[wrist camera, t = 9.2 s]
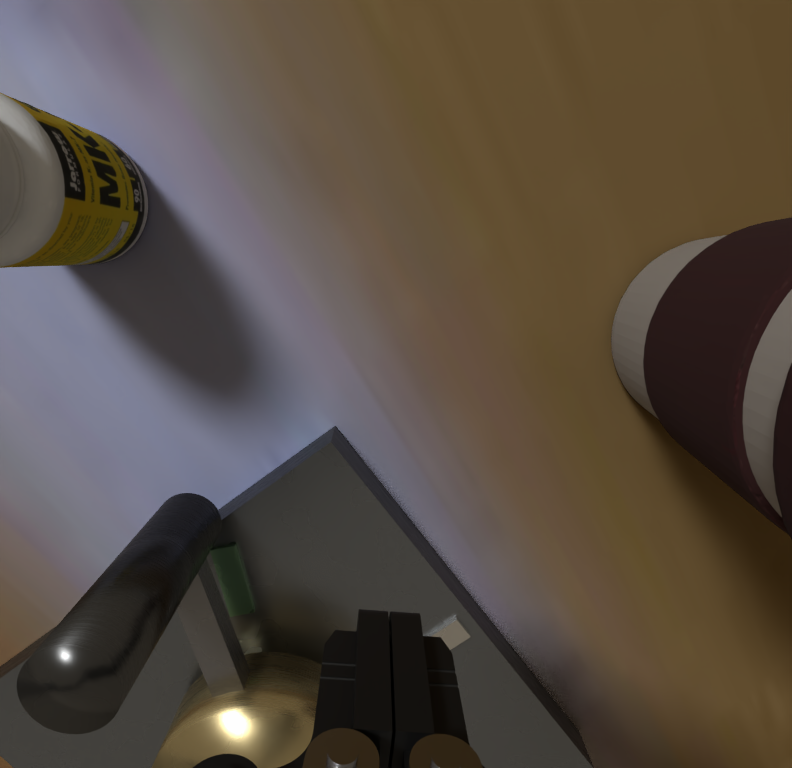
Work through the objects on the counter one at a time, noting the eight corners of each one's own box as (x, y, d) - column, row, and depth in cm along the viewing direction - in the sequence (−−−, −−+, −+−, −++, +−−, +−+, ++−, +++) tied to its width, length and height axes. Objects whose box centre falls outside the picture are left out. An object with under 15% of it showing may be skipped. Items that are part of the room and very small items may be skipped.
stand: (257, 930, 30) (235, 1045, 25) (-16, 677, 26) (-95, 762, 21) (582, 736, 27) (619, 827, 23) (335, 425, 23) (324, 465, 19)
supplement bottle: (178, 212, 21) (50, 189, 13) (86, 289, 22) (-91, 312, 14) (87, 100, 20) (-111, 1, 12) (-6, 184, 21) (-255, 142, 13)
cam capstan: (390, 787, 24) (393, 1058, 16) (212, 829, 25) (128, 1115, 17) (281, 466, 21) (215, 605, 13) (77, 520, 21) (-115, 690, 13)
